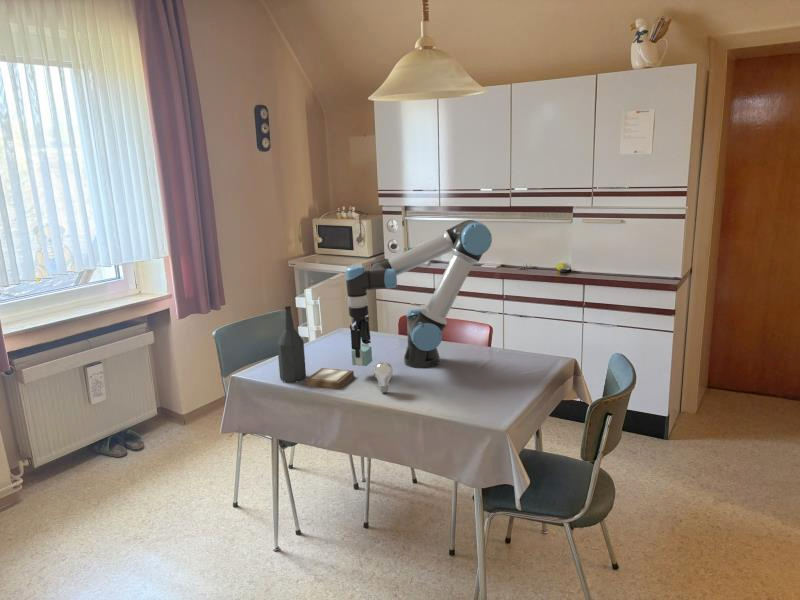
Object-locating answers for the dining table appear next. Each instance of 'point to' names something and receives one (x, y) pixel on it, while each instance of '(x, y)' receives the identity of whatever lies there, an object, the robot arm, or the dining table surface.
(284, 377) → the bottle
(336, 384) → the picture frame
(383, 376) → the light bulb
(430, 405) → the dining table surface
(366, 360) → the cube
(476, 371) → the dining table surface
